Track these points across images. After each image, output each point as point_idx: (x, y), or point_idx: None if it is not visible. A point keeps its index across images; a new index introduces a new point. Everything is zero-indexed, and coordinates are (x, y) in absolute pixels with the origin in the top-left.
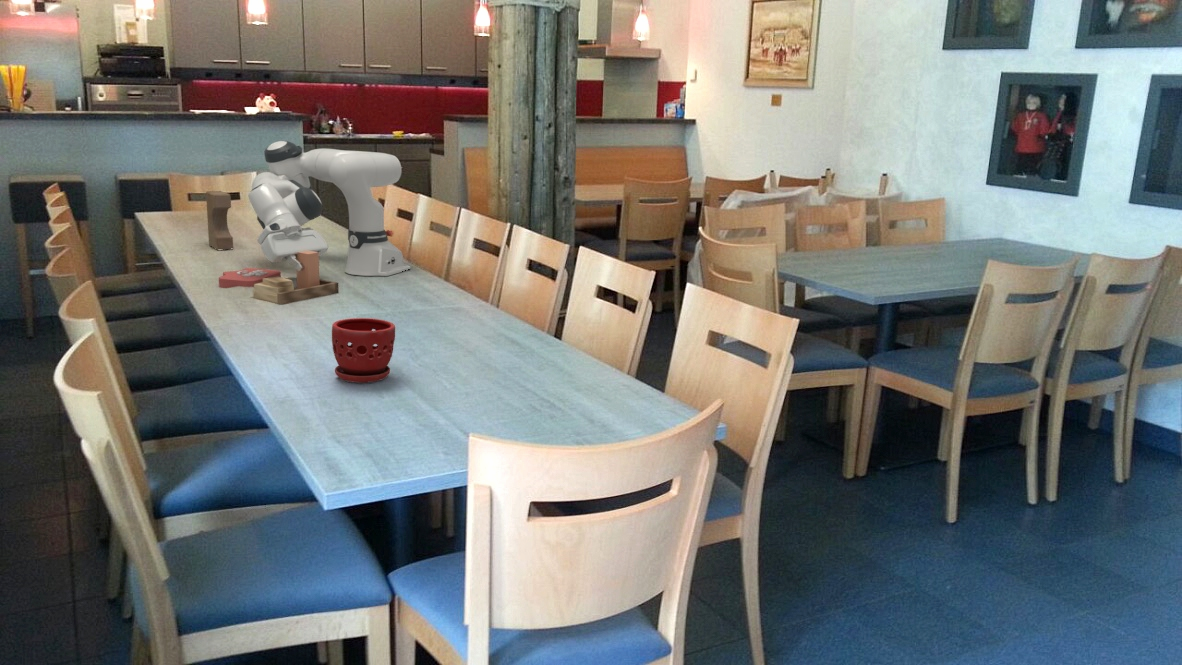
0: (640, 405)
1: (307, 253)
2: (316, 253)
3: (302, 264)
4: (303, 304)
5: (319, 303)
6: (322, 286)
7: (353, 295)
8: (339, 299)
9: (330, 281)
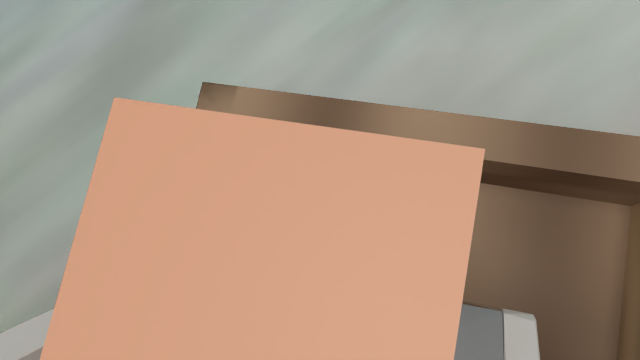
0: None
1: (404, 227)
2: (189, 113)
3: (457, 342)
4: None
5: (521, 79)
6: (392, 107)
7: (174, 61)
8: (326, 53)
9: None
